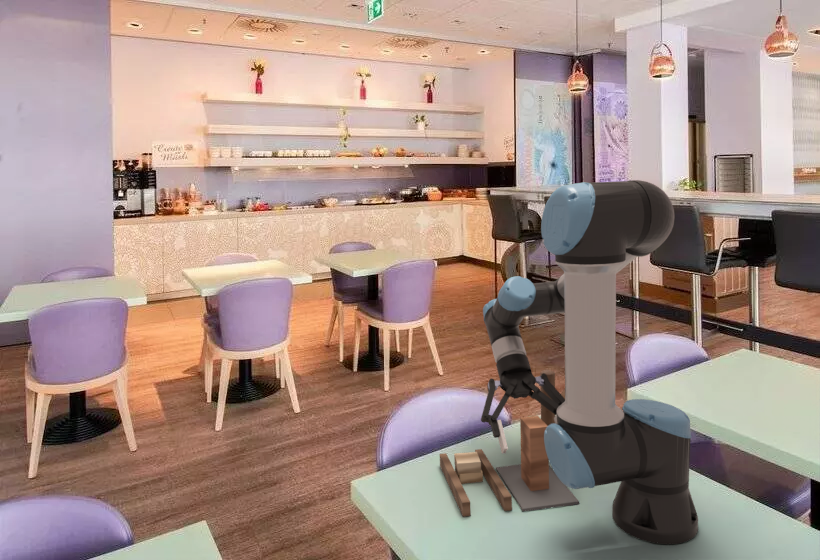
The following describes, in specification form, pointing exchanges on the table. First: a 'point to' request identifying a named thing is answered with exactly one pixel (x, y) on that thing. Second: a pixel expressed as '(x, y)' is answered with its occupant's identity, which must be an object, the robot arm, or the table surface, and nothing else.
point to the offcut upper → (467, 463)
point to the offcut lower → (470, 477)
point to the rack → (489, 475)
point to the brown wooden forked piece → (545, 413)
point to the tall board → (534, 453)
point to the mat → (539, 498)
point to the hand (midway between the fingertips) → (535, 447)
